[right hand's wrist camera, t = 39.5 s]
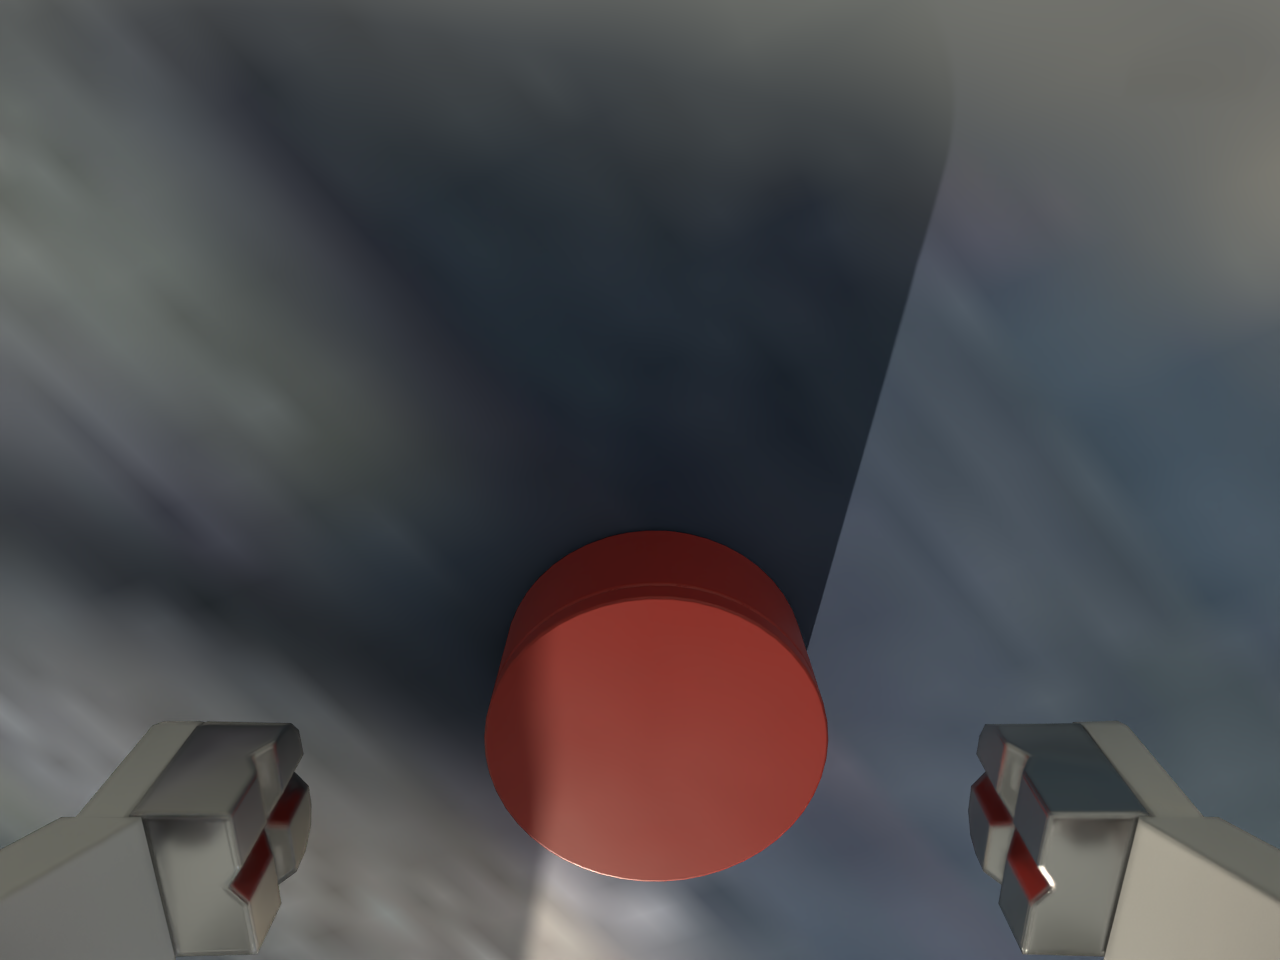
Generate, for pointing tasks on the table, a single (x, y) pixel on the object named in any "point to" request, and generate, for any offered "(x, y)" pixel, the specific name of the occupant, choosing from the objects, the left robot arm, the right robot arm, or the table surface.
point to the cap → (655, 709)
